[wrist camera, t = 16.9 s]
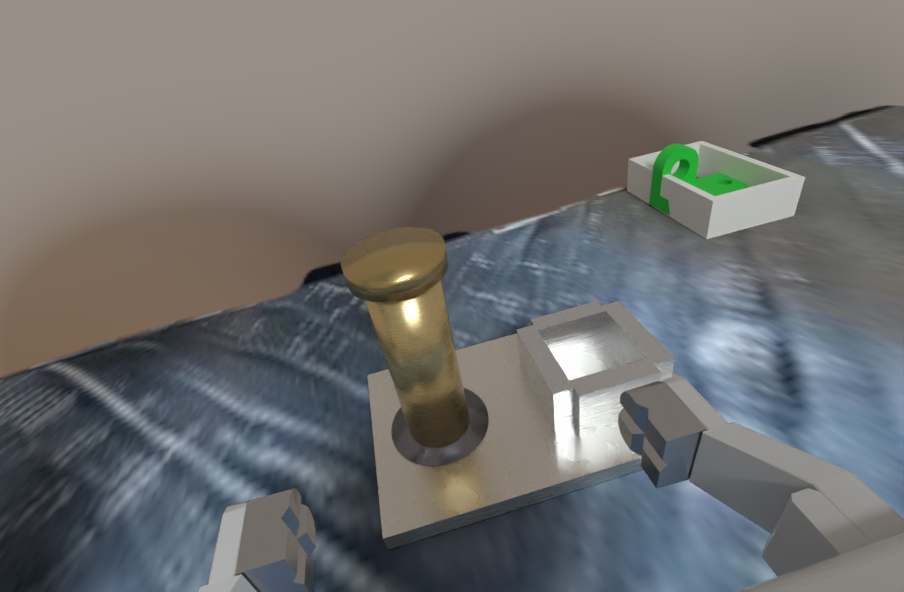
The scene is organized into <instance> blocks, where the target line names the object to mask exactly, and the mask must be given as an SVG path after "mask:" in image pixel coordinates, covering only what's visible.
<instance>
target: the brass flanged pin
mask: <svg viewBox="0 0 904 592" xmlns="http://www.w3.org/2000/svg"><path fill="white" fill-rule="evenodd" d="M341 268H342V270H343V273H344V276H345V279H346V282H347V284H348V287H349V290H350V291H351V293H352V294H353V295H355V296H356V297H358V298H360V299H362V300H365V301H366V304H367V307H368V310H369V313H370V316H371V319H372V322H373V325H374V328H375V331H376V334H377V337H378V340H379V343H380V346H381V349H382V352H383V355H384V358H385V361H386V364H387V367H388V369H389V372H390V375H391V378H392V381H393V384H394V387H395V390H396V393H397V396H398V399H399V402H400V405H401V408H402V411H403V414H404V417H405V420H406V423H407V426H408V429H409V432H410V434H411V437H412V438H413V439H414V440H415V442H417V443H418V444H420V445H422V446H424V447H428V448H442V447H446V446H449V445H451V444H453V443H455V442H456V441H458V440H459V439H460V438H461V437H462V436H463V435H464V434H465V432H466V431H467V429H468V426H469V421H470V418H469V412H468V407H467V403H466V398H465V393H464V388H463V384H462V379H461V374H460V370H459V365H458V360H457V355H456V351H455V346H454V341H453V337H452V332H451V327H450V322H449V318H448V313H447V308H446V304H445V299H444V294H443V289H442V285H441V279H442V278H443V277H444V275H445V274H446V272H447V270H448V259H447V254H446V249H445V244H444V240H443V238H442V236H441V235H440V234H439V233H437V232H436V231H434V230H431V229H428V228H422V227H402V228H395V229H390V230H386V231H382V232H379V233H376V234H373V235H371V236H369V237H367V238H364V239H363V240H361V241H359V242H358V243H356V244H355V245H353V246H352V247H351V248H350V249H349V250H348V251H347V252H346V253H345V254H344V256H343V258H342V261H341Z"/></svg>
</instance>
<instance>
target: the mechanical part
mask: <svg viewBox="0 0 904 592" xmlns="http://www.w3.org/2000/svg"><path fill="white" fill-rule="evenodd" d="M678 161H680V163H679V167H678V169H677V170H676V171H675V172H674V173H673V174H672V176H674V177H676V178H678V179H680V180H682V181H684V182H686V183H689V184H691V185H693V186H695V187H697V188H699V189H701V190H703V191H705V192H707V193H709V194H711V195H713V196H718V195H722V194H726V193H730V192H733V191H737V190H741V189H745V188H747V184H745V183H743V182H741V181H738V180H736V179H733V178H731V177H729V176H726V175H724V174H721V173H716V174H713V175H709V176H705V177H701V178H697V179H696V176H697V170H698V164H699V157H698V153H697V152H696V150H695V149H693V148H691V147H688V146H685V145H682V144H676V143H675V144H671V145H669V146H668V147H666V148H665V149H663V150H662V151H661V152H660V154H659V155H658V156H657V158H656V160H655V162H654V166H653V173H652V182H651V191H650V201H649V204H650V205H652V206H653V207H655V208H657V209H659V210H661V211H663V212H664V213H666V214H668V215H670V210H669V200H667V199H666V198H664V197H662V196H660V193H661V184H662V176H664V175H667V174H670V175H671V171H672V168H673V166H674V165H675V164H676V163H677V162H678Z"/></svg>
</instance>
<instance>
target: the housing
mask: <svg viewBox="0 0 904 592" xmlns="http://www.w3.org/2000/svg"><path fill="white" fill-rule="evenodd" d="M516 332H517V333H516V334H513V335H509V336H505V337H502V338H498V339H495V340H491V341H487V342H484V343H480V344H477V345H473V346H470V347H466V348H462V349H459V350H455V351H456V355H457V360H458V365H459V370H460V374H461V379H462V384H463V388H464V393H465V398H466V403H467V407H468V412H469V418H470V421H469V426H468V429H467V431H466V432H465V434H464V435H463V436H462V437H461V438H460V439H459V440H458V441H456V442H455V443H453V444H451V445H449V446H446V447H442V448H428V447H424V446H422V445H420V444H418V443H417V442H415V440H414V439H413V438H412V437H411V434H410V432H409V429H408V426H407V423H406V420H405V417H404V414H403V411H402V408H401V405H400V402H399V399H398V396H397V393H396V390H395V387H394V384H393V381H392V378H391V375H390V372H389V369H387V370H384V371H380V372H376V373H373V374H369V375H368V386H369V396H370V407H371V418H372V429H373V439H374V450H375V461H376V472H377V483H378V493H379V504H380V515H381V526H382V536H383V540H384V542H385V544H386V546H387V548H388V550H390V549H393V548H396V547H400V546H403V545H406V544H409V543H412V542H415V541H418V540H422V539H425V538H428V537H431V536H434V535H437V534H440V533H444V532H447V531H450V530H453V529H456V528H459V527H463V526H466V525H469V524H472V523H475V522H478V521H481V520H485V519H488V518H491V517H494V516H497V515H500V514H504V513H507V512H510V511H513V510H516V509H519V508H522V507H526V506H529V505H532V504H535V503H538V502H541V501H545V500H548V499H551V498H554V497H557V496H560V495H563V494H567V493H570V492H573V491H576V490H579V489H582V488H585V487H589V486H592V485H595V484H598V483H601V482H604V481H608V480H611V479H614V478H617V477H620V476H623V475H626V474H630V473H633V472H636V471H639V470H642V469H643V468H642V467H641V456H640V455H639V454H637V453H635V452H633V451H631V450H630V449H629V447H628V446H627V444H626V443H625V441H624V439H623V437H622V435H621V433H620V429H619V425H618V414H619V413H620V412H621V410H622V409H623V406H622V405H621V403H620V395H621V394H622V393H623V392H624V391H627V390H630V389H634V388H637V387H640V386H643V385H647V384H650V383H653V382H656V381H662V380H665V379H668V378H671V377H675V376H676V375H675V373H674V372H673V366H674V360H675V358H674V357H673V356H672V355H671V354H670V353H669V352H668V351H667V350H666V349H665V348H664V347H663V346H662V345H661V344H660V343H659V342H658V341H657V340H656V339H655V338H654V337H653V336H652V335H651V334H650V333H649V332H648V331H647V330H646V329H645V328H644V327H643V326H642V325H641V324H640V323H639V322H638V321H637V320H636V319H635V318H634V317H633V316H632V315H631V314H630V313H629V311H628V310H627V309H626V308H625V307H624V306H623V305H622V304H621V303H620V302H619V301H617V302H614V303H610V304H607V305H603V306H601V305H600V304H599V303H598V302H597V301H595V302H592V303H588V304H584V305H581V306H577V307H574V308H570V309H566V310H563V311H559V312H556V313H552V314H548V315H545V316H541V317H538V318H534V319H531V326H528V327H524V328H520V329H517V330H516Z"/></svg>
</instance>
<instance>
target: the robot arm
mask: <svg viewBox="0 0 904 592" xmlns="http://www.w3.org/2000/svg"><path fill="white" fill-rule="evenodd" d="M620 403H621V405H622V406H623V409H622V410H621V412H620V413H619V414H618V425H619V429H620V433H621V435H622V437H623V439H624V441H625V443H626V444H627V446H628V447H629V449H630V450H631V451H633V452H635V453H637V454H639V455H640V456H641V467H642V468H643V470H644V471H645V472H646V474H647V475H648V477H649V478H650V480H651V481H652V483H653V484H654V486H655V487H656V488H660V487H664V486H667V485H671V484H674V483H678V482H681V481H685V480H688V479H690V480H689V481H690V482H691V483H693V484H694V485H696V486H697V487H699V488H701V489H702V490H704V491H705V492H707V493H708V494H710V495H711V496H713V497H715V498H716V499H718V500H719V501H721V502H722V503H724V504H725V505H727V506H729V507H730V508H732V509H733V510H735V511H736V512H738V513H740V514H741V515H743V516H744V517H746V518H747V519H749V520H750V521H752V522H754V523H755V524H757V525H758V526H760V527H761V528H763V529H764V530H766V531H768V532H769V533H771V535H770V537H769V539H768V541H767V543H766V545H765V547H764V549H763V554H762V557H763V559H764V560H765V561H766V562H767V564H768V565H769V566H770V568H771V569H772V570H773V572H774V573H775V574H776V575H777V577H776V578H773V579H770V580H767V581H764V582H761V583H759V584H756V585H753V586H750V587H747V588H744V589H742V590H739V591H736V592H904V519H903V518H902V517H901V516H900V515H899V514H898V513H897V512H895V511H894V510H893V509H892V508H891V507H890V506H889V505H888V504H886V503H885V502H884V501H883V500H882V499H881V498H880V497H879V496H877V495H876V494H875V493H874V492H873V491H872V490H871V489H870V488H868V487H867V486H866V485H865V484H864V483H863V482H862V481H861V480H860V479H858V478H857V477H856V476H855V475H854V474H853V473H852V472H849V471H847V470H845V469H842V468H840V467H838V466H835V465H833V464H831V463H828V462H826V461H824V460H821V459H819V458H817V457H814V456H812V455H810V454H807V453H805V452H803V451H800V450H798V449H796V448H793V447H791V446H789V445H786V444H784V443H782V442H779V441H777V440H775V439H772V438H770V437H768V436H765V435H763V434H761V433H758V432H756V431H754V430H751V429H749V428H747V427H744V426H742V425H740V424H737V423H735V422H733V423H729V424H728V423H727V422H726V421H725V420H724V419H723V417H722V416H721V415H720V414H719V413H718V412H717V411H716V410H715V409H714V408H713V407H712V406H711V405H710V404H709V403H708V402H707V401H706V400H705V399H704V398H703V397H702V396H701V395H700V394H699V393H698V392H697V391H696V390H695V389H694V388H693V387H692V386H691V385H690V384H689V383H688V382H687V380H686V379H685V378H683V377H681V376H675V377H671V378H668V379H665V380H662V381H656V382H653V383H650V384H647V385H643V386H640V387H637V388H634V389H630V390H627V391H624V392H623V393H622V394H621V395H620ZM315 547H316V532H315V524H314V519H313V516H312V513H311V511H310V509H309V508H308V506H305V505H302V504H301V495H300V493H299V492H298V490H297V489H296V488H294V489H290V490H287V491H283V492H279V493H275V494H272V495H268V496H264V497H261V498H257V499H253V500H249V501H246V502H242V503H239V504H235V505H232V506H228V507H227V508H226V510H225V512H224V514H223V516H222V520H221V525H220V530H219V534H218V539H217V544H216V548H215V553H214V558H213V562H212V567H211V572H210V577H209V581H208V584H207V585H204V586H201V587H200V588H199V590H198V591H197V592H314V591H315V566H314V564H313V563H312V561H311V560H310V558H309V557H310V556H311V554H312V552H313V551H314V549H315Z"/></svg>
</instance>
